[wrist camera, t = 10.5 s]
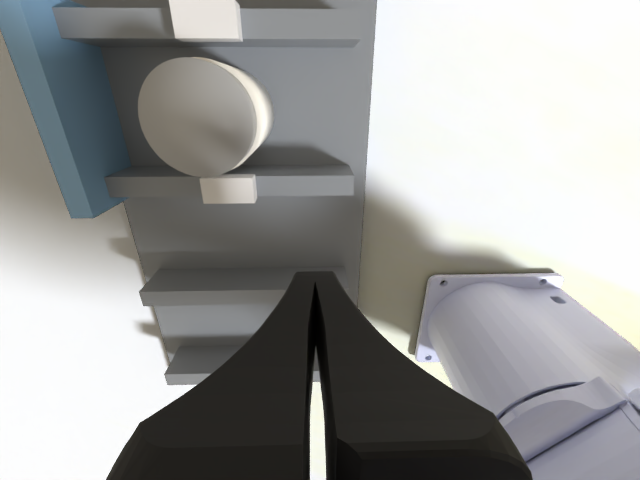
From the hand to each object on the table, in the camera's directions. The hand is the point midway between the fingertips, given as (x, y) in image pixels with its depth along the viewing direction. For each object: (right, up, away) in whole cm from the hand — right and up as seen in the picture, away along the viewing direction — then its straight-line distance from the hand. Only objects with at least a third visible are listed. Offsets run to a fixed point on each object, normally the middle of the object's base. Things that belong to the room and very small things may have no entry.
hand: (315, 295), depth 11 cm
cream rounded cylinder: (-4, +9, +5) cm, 11 cm away
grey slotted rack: (-4, +3, +9) cm, 10 cm away
